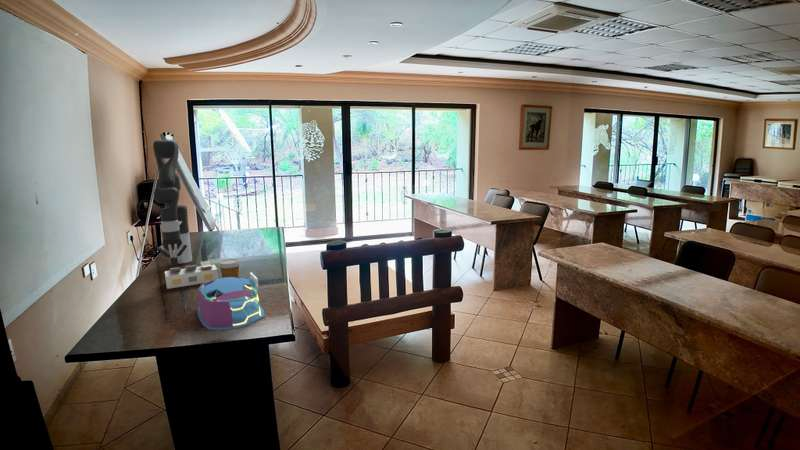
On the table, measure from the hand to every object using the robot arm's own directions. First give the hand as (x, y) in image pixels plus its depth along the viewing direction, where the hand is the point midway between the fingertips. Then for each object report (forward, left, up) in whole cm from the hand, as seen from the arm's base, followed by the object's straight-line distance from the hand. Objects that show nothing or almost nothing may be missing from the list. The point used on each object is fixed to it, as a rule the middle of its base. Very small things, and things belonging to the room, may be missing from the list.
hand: (174, 264), depth 210 cm
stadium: (+48, +17, -11) cm, 52 cm away
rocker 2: (-3, +7, -3) cm, 8 cm away
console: (-3, +7, -11) cm, 13 cm away
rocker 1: (-3, 0, -3) cm, 4 cm away
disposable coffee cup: (+12, +23, -11) cm, 28 cm away
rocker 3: (-3, +14, -3) cm, 15 cm away
